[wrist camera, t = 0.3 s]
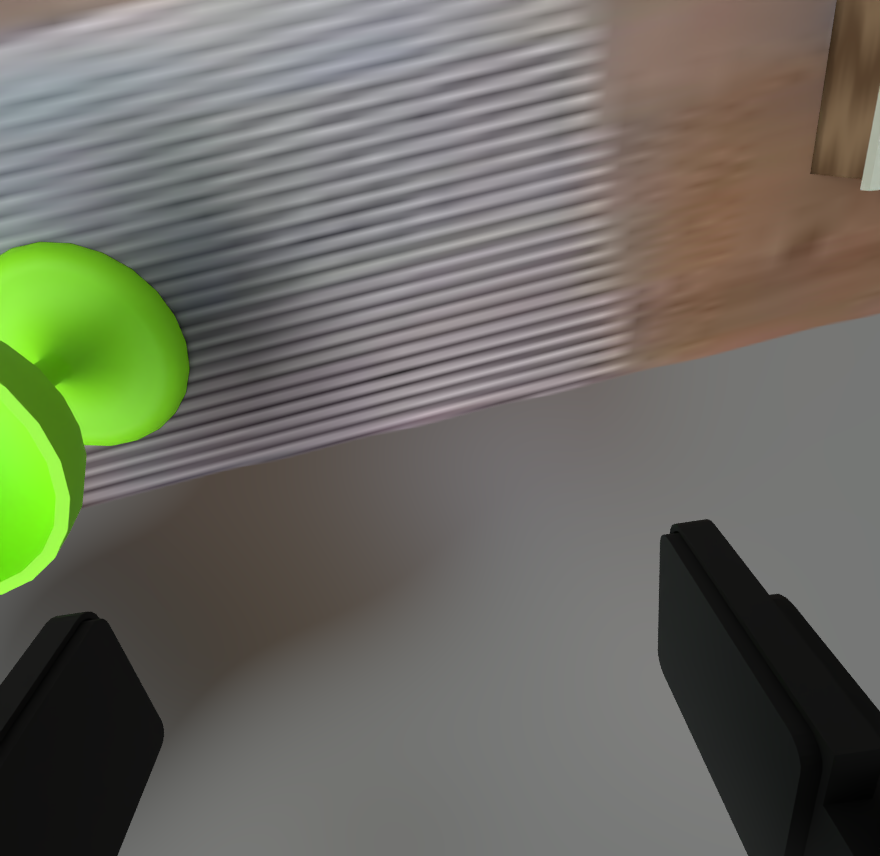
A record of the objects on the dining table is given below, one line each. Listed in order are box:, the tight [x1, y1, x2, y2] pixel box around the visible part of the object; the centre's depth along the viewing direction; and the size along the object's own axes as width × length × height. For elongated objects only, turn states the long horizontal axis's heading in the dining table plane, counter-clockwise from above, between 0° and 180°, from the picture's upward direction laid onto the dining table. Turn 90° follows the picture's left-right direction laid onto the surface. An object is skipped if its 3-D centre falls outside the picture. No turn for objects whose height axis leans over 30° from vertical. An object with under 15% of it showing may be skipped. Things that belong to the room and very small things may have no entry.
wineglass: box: [0, 242, 190, 595], centre depth 37 cm, size 16×16×18 cm
